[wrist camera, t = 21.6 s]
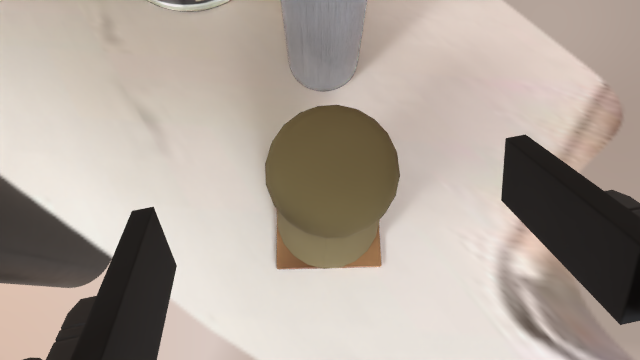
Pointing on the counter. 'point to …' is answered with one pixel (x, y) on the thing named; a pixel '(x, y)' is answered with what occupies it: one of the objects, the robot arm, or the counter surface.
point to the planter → (323, 40)
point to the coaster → (291, 262)
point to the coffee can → (188, 4)
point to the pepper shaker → (331, 183)
